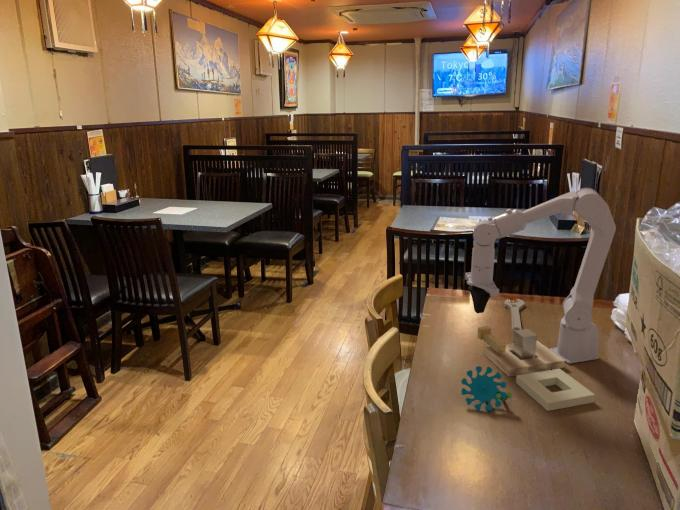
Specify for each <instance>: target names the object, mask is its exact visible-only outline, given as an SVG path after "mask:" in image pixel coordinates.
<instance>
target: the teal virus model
mask: <svg viewBox="0 0 680 510" xmlns="http://www.w3.org/2000/svg"><path fill="white" fill-rule="evenodd" d="M482 368H483V367H482V366H480V365H479V366H476V367H475V371H476V376H475V377H473V370H471V369H470V370H467V371H466V376H467V377H468V378H470V381H471V383H468V380H467V378H465V377H463V378H462V379H461V381H460V382H461V385H464V386H467V387H468V388H469V389H470V390H467V389H466V388H465V387H462V388H461V391H460V392H461V395H463V396H465V395H471V396H473V398H471V397H466V398H465V402H466V403H467V405H471V404H472V403H474V402H475V401H479V403H477V404H475V405H474V408H475V410H477V411H480V410H481V409H482V405H483V404H484V403H485V402H486V403H488V404H487V405H486V406H485V411H487V412H492V410H493V408H492V405H491V402H492V400H493V399H494V400H495V404H494V405H495V407H496V408H500V407H501V406H502V405H503V404H502V402H506V401H507V400H508V399H512V397H513V393H512V392H510V391H508V392H505V391H501V390H500V389H499V388H498V386H500V388H502V389H506V388H507V382H506V381H502V382H500V381H499V382H497V381H495V380H494V379H498V380H500V379H502V374H501V373H500V371H497V372H496V373H495V374H494V375H492V376H488V374H492V372H493V368H492V367H490V366H487V367H486V371H485V372H484V373H483V374H482V375H481V374H480V373H481V372H482V370H483V369H482Z"/></svg>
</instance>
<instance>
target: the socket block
mask: <svg viewBox="0 0 680 510" xmlns="http://www.w3.org/2000/svg"><path fill="white" fill-rule="evenodd" d="M504 344H505V345H506V351H505V352H503V353H498V352H496V351H495V350H494V349H493V348H492V347H490V346H486V347H483V355H484V356H485V357H486V358H487V359H488V360H489V361H490V362H492V363H493V364H494V365H495V366H496V367H497V368H498V369H500V370H501V371H502V372H503V373H504V374H505V375H506V376H507V377H516V376H517V375H523V374H529V373H535V372H541V371H547V370H551V369H552V370H553V369H559V368H560V369H563V368H565V365H566V362H565V360H564V359H562V358H561V357H560V356H558V355H557V354H555V353H554V352H553V351H551V350H550V348H548V347H547V346H546V345H545V344H542V343H541V342H540V341H538V340H537V342H536V351H535V358H531V359H524V360H520V359H519V358H517V357H516V356H515V355H514V354H512V350H513V342H512V343H507V344H506V343H504Z"/></svg>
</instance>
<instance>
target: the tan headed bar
mask: <svg viewBox="0 0 680 510" xmlns="http://www.w3.org/2000/svg"><path fill="white" fill-rule="evenodd" d="M477 338H478V340H479V341H483V342H484V343H485V344H487V345H488V347H492V348H493V349H494V350H495V351H496V352H498V353H503V352H505V351H506V345H505V344H506V343H504V342H502V341H501V340H500V339H499V338H497V337H496V336H495V335H494V334H493V333H492V327H490V326H489V325H487V326H485V325H484V326H478V327H477Z"/></svg>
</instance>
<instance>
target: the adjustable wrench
mask: <svg viewBox="0 0 680 510" xmlns="http://www.w3.org/2000/svg"><path fill="white" fill-rule="evenodd" d="M524 307H525V301H524V300H523V299H520V298H516V299H515V302H512V301H511V300H510V299H508V298H507V299H505V300H504V303H503V308H506V309H509V311H510V312H511V314H510V315H511V317H510V318H511V333H513V334H514V331H516V330H523V329H522V325H521V324H522V323H521V317H520V311H521V309H524Z"/></svg>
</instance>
